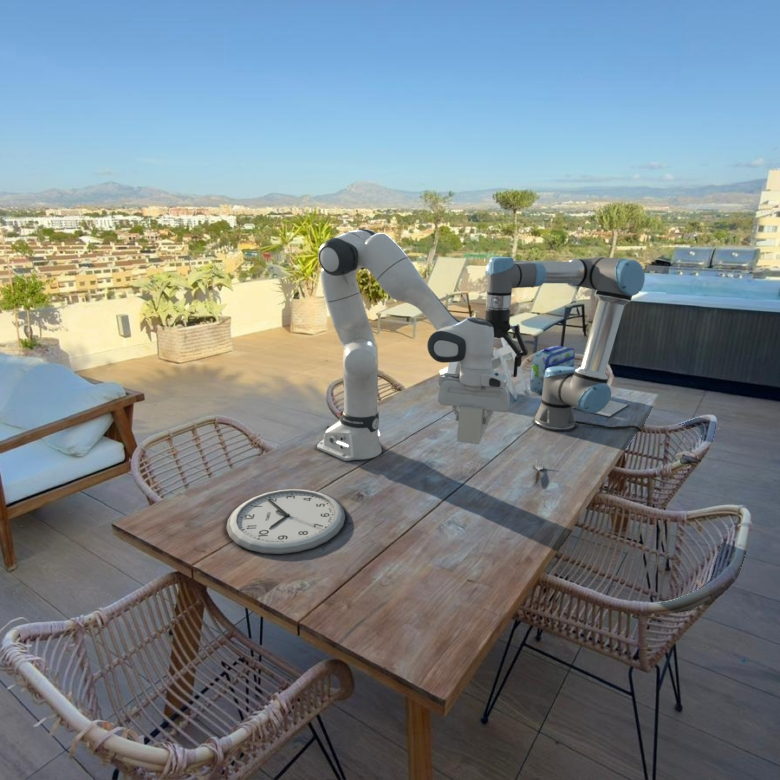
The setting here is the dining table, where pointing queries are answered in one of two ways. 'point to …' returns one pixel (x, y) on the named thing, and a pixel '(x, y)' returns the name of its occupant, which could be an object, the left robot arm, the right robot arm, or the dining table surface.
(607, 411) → the invitation card
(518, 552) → the dining table surface
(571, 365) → the lunch box
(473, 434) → the box
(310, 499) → the wall clock
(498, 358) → the white plastic object
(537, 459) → the fork
